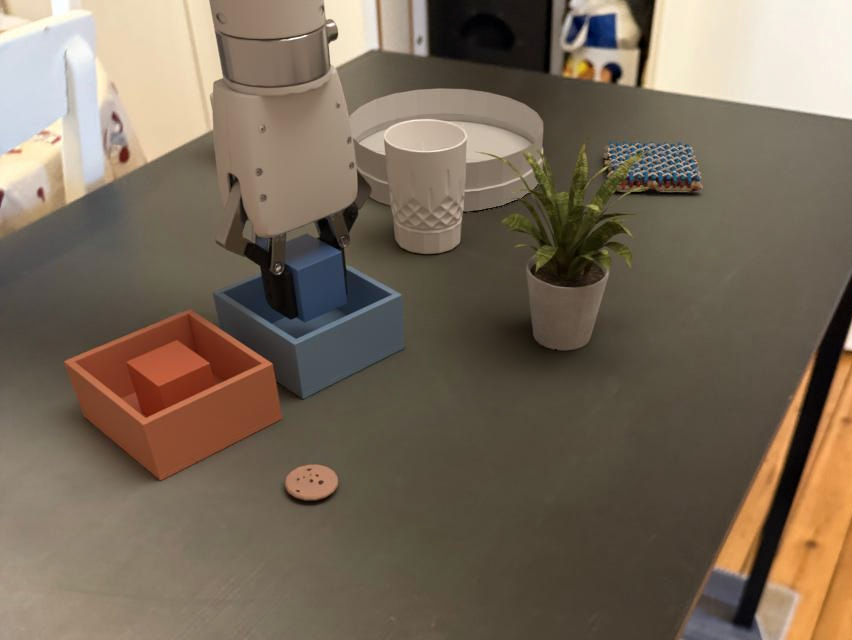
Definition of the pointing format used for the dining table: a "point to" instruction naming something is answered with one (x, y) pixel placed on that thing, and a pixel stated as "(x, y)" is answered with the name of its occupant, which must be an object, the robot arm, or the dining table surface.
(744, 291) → the dining table surface
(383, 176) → the dish
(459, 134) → the white cup
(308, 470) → the cookie
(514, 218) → the house plant
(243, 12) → the robot arm
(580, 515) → the dining table surface
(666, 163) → the woven mat
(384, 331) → the blue bin
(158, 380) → the terracotta block
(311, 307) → the blue block
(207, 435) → the terracotta bin
